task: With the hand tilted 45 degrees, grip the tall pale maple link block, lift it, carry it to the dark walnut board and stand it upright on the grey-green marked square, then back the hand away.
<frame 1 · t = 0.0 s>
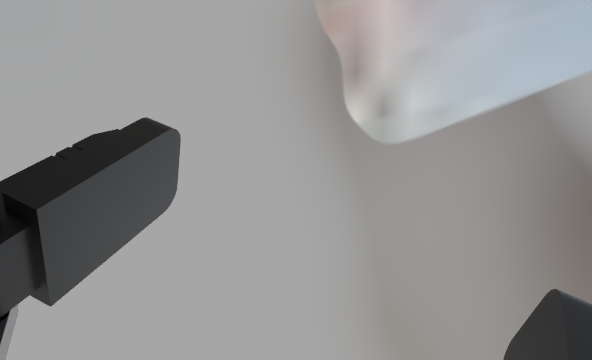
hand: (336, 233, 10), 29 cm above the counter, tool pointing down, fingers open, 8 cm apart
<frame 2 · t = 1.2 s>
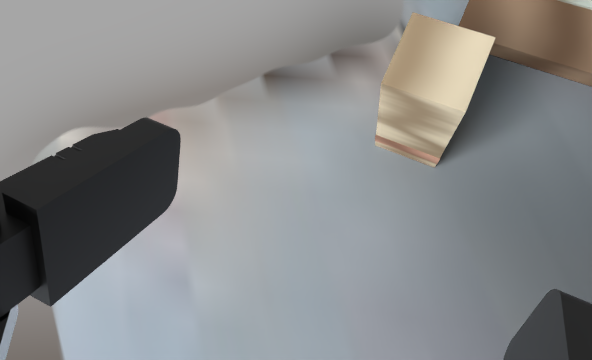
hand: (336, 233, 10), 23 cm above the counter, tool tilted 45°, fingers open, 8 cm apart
maple link block: (415, 129, 33), on the counter
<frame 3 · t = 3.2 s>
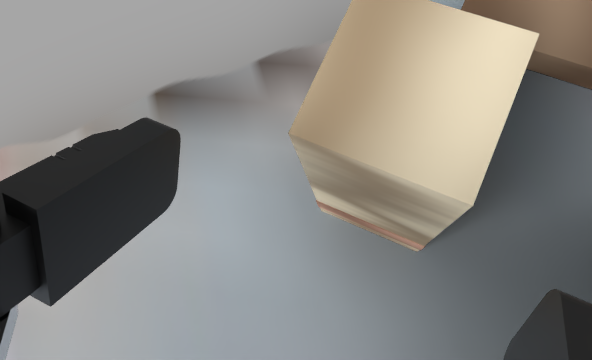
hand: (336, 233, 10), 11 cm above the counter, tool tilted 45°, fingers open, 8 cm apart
maple link block: (387, 185, 20), on the counter
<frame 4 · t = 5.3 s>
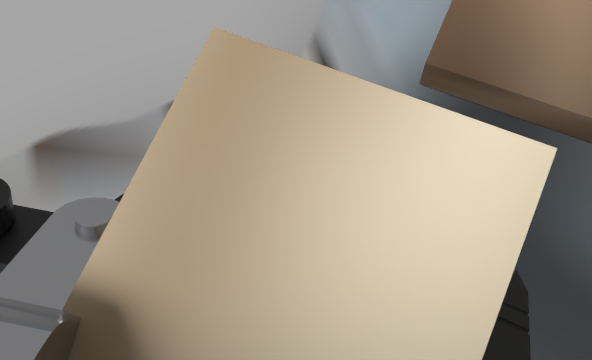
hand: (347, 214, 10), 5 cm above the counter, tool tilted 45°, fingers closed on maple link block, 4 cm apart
maple link block: (334, 281, 15), on the counter, touching gripper
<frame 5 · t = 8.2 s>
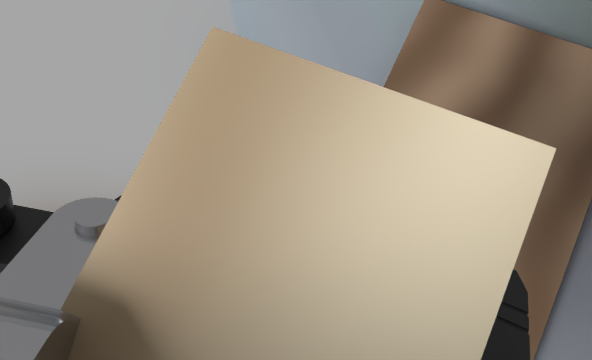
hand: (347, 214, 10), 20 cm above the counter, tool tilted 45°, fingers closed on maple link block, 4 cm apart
maple link block: (333, 281, 15), point 15 cm above the counter, touching gripper
seat board: (463, 174, 30), on the counter
when the fingers open (8 cm above the counter, at t = 11.5 s): maple link block drops 1 cm, resting on seat board.
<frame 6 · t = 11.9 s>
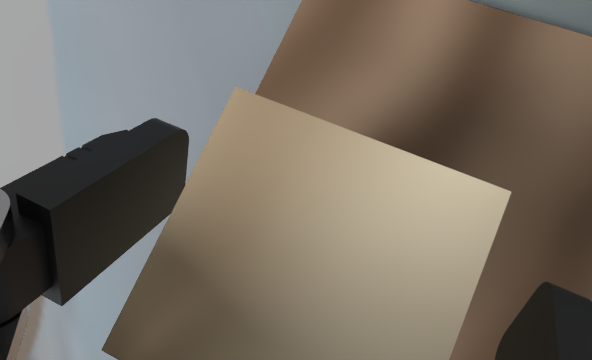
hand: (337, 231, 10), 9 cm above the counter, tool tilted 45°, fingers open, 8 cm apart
maple link block: (335, 286, 16), point 2 cm above the counter, touching seat board
seat board: (381, 247, 18), on the counter
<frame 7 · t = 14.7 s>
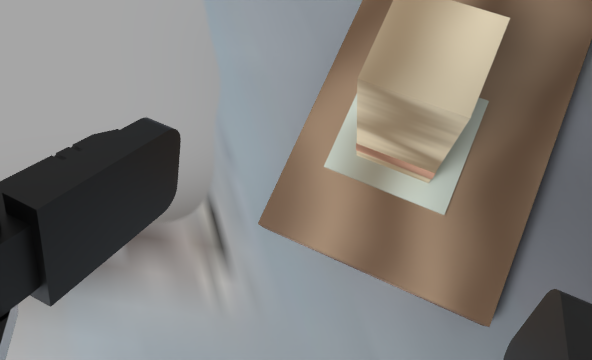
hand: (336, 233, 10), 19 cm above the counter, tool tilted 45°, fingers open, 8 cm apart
maple link block: (406, 135, 27), point 2 cm above the counter, touching seat board
seat board: (429, 121, 29), on the counter
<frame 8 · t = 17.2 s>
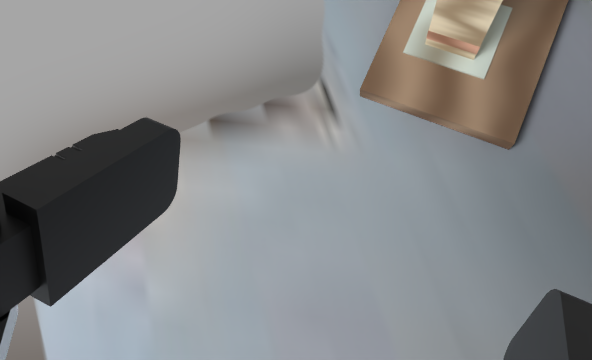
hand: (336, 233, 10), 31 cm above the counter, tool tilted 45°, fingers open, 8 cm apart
maple link block: (457, 31, 42), point 2 cm above the counter, touching seat board
seat board: (471, 25, 43), on the counter
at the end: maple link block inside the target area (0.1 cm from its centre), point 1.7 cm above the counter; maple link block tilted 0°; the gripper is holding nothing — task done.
